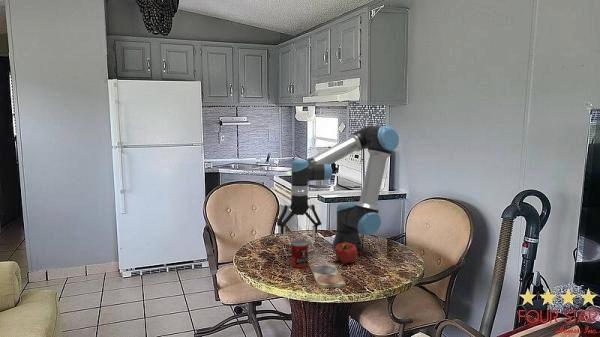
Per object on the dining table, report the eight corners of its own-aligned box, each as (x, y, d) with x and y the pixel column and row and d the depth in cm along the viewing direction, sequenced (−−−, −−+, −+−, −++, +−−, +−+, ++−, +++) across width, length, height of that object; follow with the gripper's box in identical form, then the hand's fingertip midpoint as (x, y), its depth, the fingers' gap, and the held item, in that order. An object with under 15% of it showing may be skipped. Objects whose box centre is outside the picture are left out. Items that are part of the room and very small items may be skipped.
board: (333, 267, 192) (333, 264, 192) (345, 286, 170) (345, 283, 170) (309, 268, 190) (309, 265, 190) (318, 288, 169) (318, 284, 169)
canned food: (296, 269, 190) (296, 245, 188) (288, 264, 197) (288, 241, 195) (311, 266, 193) (311, 243, 192) (302, 261, 200) (302, 239, 199)
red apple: (353, 267, 192) (354, 246, 191) (331, 265, 196) (332, 244, 194) (359, 260, 202) (359, 239, 201) (338, 257, 206) (338, 237, 205)
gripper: (272, 196, 186) (272, 243, 188) (328, 195, 189) (327, 242, 191) (271, 193, 193) (270, 238, 195) (325, 192, 196) (324, 237, 199)
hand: (298, 240), depth 193 cm, fingers open, 13 cm apart
